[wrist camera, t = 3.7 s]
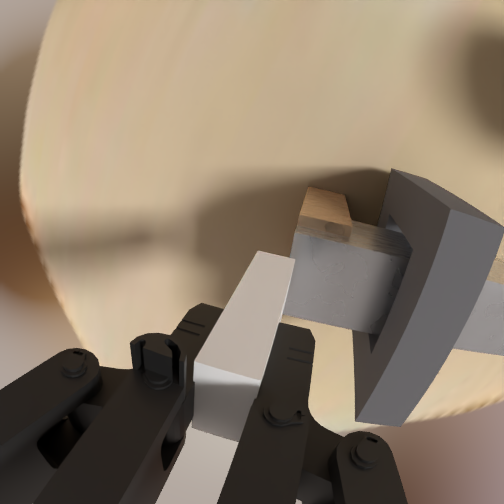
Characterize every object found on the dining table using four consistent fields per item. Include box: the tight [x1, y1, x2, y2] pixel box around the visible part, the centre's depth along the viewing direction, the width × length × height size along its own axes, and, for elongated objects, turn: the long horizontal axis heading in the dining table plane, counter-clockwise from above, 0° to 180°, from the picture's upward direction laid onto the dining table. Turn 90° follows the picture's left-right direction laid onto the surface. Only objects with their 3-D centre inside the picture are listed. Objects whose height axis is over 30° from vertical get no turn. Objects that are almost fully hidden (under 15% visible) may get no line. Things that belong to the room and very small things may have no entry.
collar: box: [352, 168, 504, 427], centre depth 15 cm, size 10×2×10 cm, turn 172°
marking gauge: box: [283, 186, 504, 356], centre depth 15 cm, size 5×24×8 cm, turn 82°
